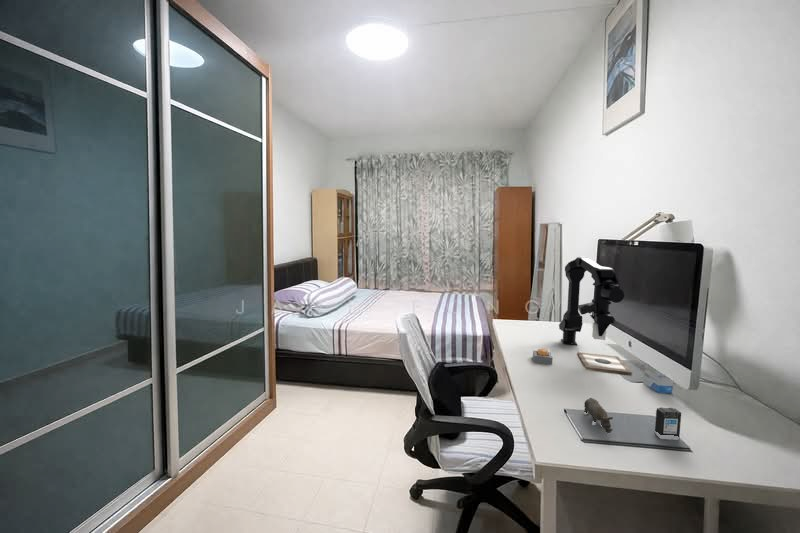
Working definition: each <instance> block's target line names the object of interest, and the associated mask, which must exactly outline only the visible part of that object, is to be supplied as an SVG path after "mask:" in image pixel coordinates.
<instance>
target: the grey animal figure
mask: <svg viewBox="0 0 800 533" xmlns="http://www.w3.org/2000/svg"><path fill="white" fill-rule="evenodd" d="M583 406H584V411H583V412H586V413H587V412H588V415H590V416H591V417H592V421H594V422H596V423H597V421H599V422H600V423H601V425H602V427H603V428H602V427H601V428H602V429H604V431H605V432H607V433H606V434H608V433H609V434H610V433H612V431H613V430H614V428H611V427H612V424H611V423H610V420H613V419H614V417H611V416H608V413H607V411H606V410H605V409H604V408H603V407H602V405H601V404H600V403H599V400H597V399H595V398H593V397H589V398H587V399H586V400H585V401H584V405H583Z"/></svg>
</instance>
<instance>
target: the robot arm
mask: <svg viewBox="0 0 800 533" xmlns="http://www.w3.org/2000/svg"><path fill="white" fill-rule="evenodd" d="M586 271H587V272H588V273H590V274H591V277H590V278H592V279H593V281H594V282H593V283H592V285H593V286H594V292H593V293H594V294H593V298H592V299H591V302H587V303H583V304H580V302H579V301H580V287H581V282H582V280H583V279H584V278H585V273H586ZM564 272H565V277H566V279H567V280H568V288H567V289H568V292H567V306H566V307H567V309H566V311H565V313H564V314H563V315H562V316H563V317H562V320H561V321H560V322H559V324H558V328H559V330H560V331H561V332H562V338H561V339H560V341H561V343H562V344H565V345H574V346H577V345H578V343H577V341H576V339H577V337H576V336H577V332H578V333H581V331H582V328H583V316H582V315H586V314H589V316H590V318H591V319H593V323H595V322H596V323H597V325H598V334H599V336H602V335H603V334H604V332H605V331H606V332H607V329H608V328H609V326H610V325H611V324H615V320H616V318H615V317H614V316H613V315H611V311H610V305H611V304H612V303H617V304H618V303H621V302H622V301H624V298H625V293H624V291H623V290H622V289H621V286H620V284H619V279H618V277H617V274H616V272H615V270H614V269H613V268H612V267H609V266H602V265H600V264H598V263H597V262H596V261H594V260H592V259H591V258H590V257H588V256H577V257H576V258H575V259H573V260H571V261H569V262H568V263H567V264H566V265H565V266H564Z"/></svg>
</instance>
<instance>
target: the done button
mask: <svg viewBox="0 0 800 533" xmlns="http://www.w3.org/2000/svg"><path fill="white" fill-rule="evenodd" d="M537 351H538V354H537V355H541V356H548V352H549V351H548V350H547V349H544V348H538V349H537Z"/></svg>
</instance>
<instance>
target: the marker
mask: <svg viewBox="0 0 800 533" xmlns="http://www.w3.org/2000/svg"><path fill="white" fill-rule="evenodd" d="M591 336H592V337H593V339H594V340H601V341H606V336H607V330H606V331H605V332H604V334H603V335H602V336H599V334H598V325H597V323H596V322H595V323H594V322H592V334H591Z"/></svg>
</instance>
